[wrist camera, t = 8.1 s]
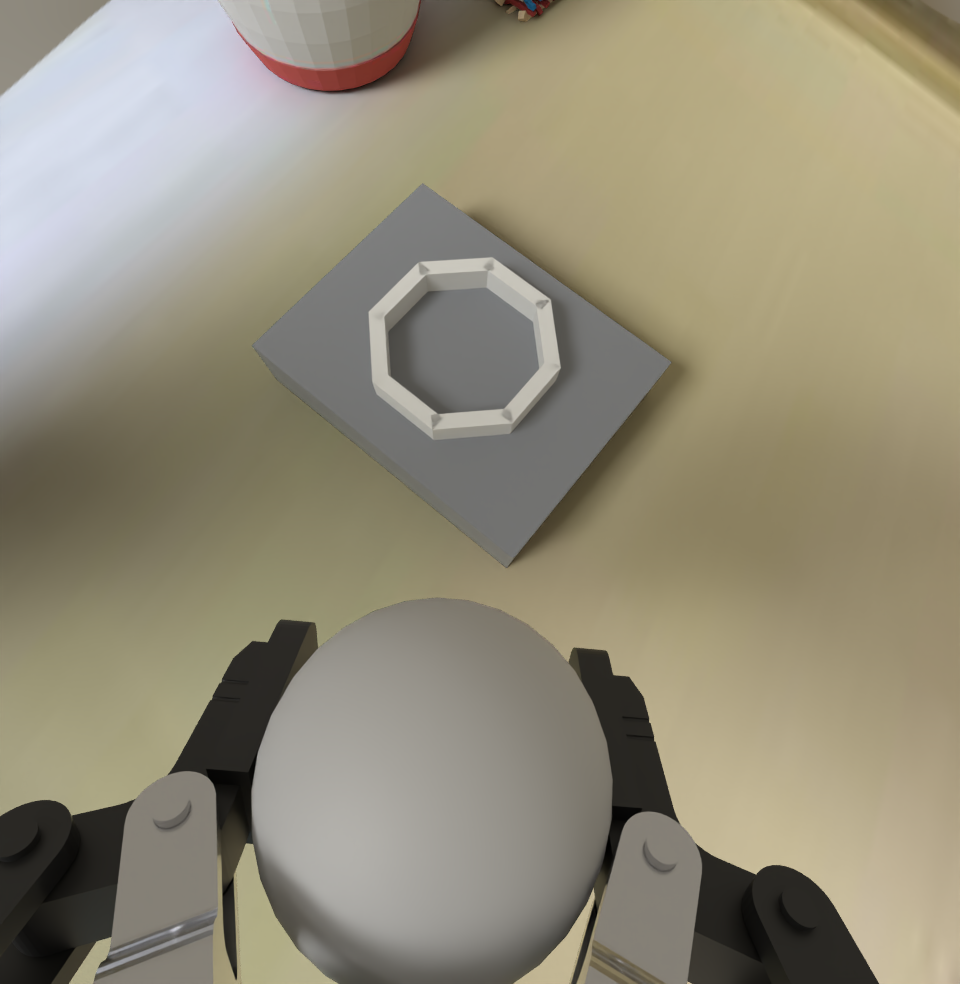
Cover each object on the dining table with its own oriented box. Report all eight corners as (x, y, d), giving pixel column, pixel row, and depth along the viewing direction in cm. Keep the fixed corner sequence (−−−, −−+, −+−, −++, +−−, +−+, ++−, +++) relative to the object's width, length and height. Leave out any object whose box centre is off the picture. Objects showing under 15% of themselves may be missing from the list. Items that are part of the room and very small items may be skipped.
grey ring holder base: (276, 378, 33) (240, 330, 28) (426, 231, 36) (420, 162, 31) (506, 568, 31) (515, 554, 26) (647, 393, 34) (682, 348, 29)
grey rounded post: (562, 656, 18) (726, 685, 7) (495, 852, 16) (583, 1246, 6) (391, 586, 18) (315, 517, 8) (310, 773, 17) (73, 1010, 6)
